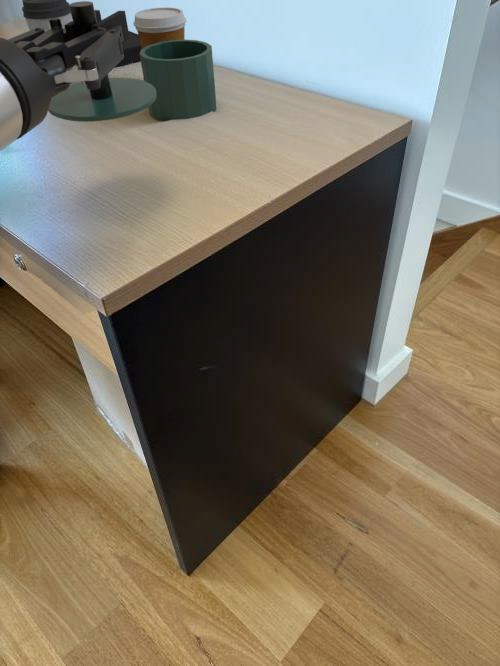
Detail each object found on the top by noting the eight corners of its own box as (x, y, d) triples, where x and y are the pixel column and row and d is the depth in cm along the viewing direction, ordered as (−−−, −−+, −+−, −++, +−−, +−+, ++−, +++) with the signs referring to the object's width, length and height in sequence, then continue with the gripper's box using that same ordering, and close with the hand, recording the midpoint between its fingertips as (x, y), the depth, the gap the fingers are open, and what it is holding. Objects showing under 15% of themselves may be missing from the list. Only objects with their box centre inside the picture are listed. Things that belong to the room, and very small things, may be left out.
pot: (142, 105, 91) (131, 46, 85) (202, 93, 95) (196, 36, 88) (162, 127, 84) (152, 65, 77) (226, 113, 87) (222, 52, 80)
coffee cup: (97, 88, 99) (76, -3, 89) (58, 99, 95) (32, 6, 85) (76, 78, 104) (54, -9, 93) (38, 89, 100) (10, -1, 89)
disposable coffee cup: (134, 85, 99) (121, 14, 91) (173, 73, 104) (164, 4, 96) (163, 96, 94) (152, 22, 86) (203, 83, 99) (196, 11, 91)
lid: (41, 98, 61) (10, 0, 54) (140, 80, 65) (124, -14, 58) (59, 136, 53) (26, 26, 46) (172, 113, 57) (157, 7, 50)
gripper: (-73, 137, 46) (61, 57, 62) (81, 150, 43) (179, 63, 59) (-118, 44, 41) (41, -17, 57) (54, 52, 37) (170, -15, 54)
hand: (111, 24), depth 58 cm, fingers closed on lid, 2 cm apart
